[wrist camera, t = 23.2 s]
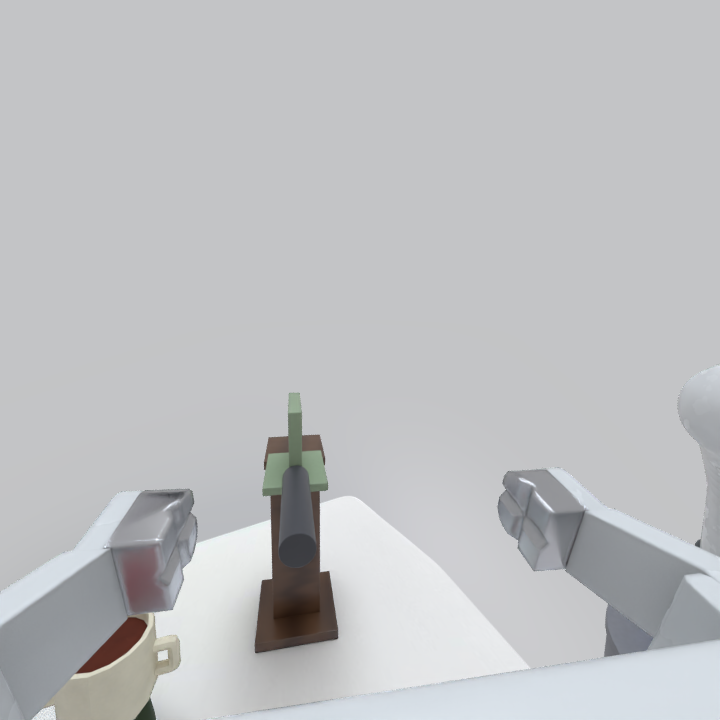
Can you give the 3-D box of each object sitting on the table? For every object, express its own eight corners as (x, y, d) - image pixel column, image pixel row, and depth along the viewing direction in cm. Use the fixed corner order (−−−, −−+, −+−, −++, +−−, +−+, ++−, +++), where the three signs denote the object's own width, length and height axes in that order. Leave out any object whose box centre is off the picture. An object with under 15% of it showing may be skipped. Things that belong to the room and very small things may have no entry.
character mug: (191, 699, 35) (184, 587, 34) (178, 789, 28) (169, 654, 27) (64, 739, 32) (50, 616, 30) (15, 852, 25) (-7, 702, 23)
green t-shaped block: (320, 456, 40) (320, 391, 39) (344, 567, 22) (345, 454, 21) (268, 460, 38) (266, 393, 37) (248, 580, 21) (245, 461, 20)
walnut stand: (329, 577, 52) (329, 431, 49) (337, 638, 42) (338, 460, 39) (262, 587, 50) (258, 435, 47) (255, 653, 40) (249, 466, 37)
